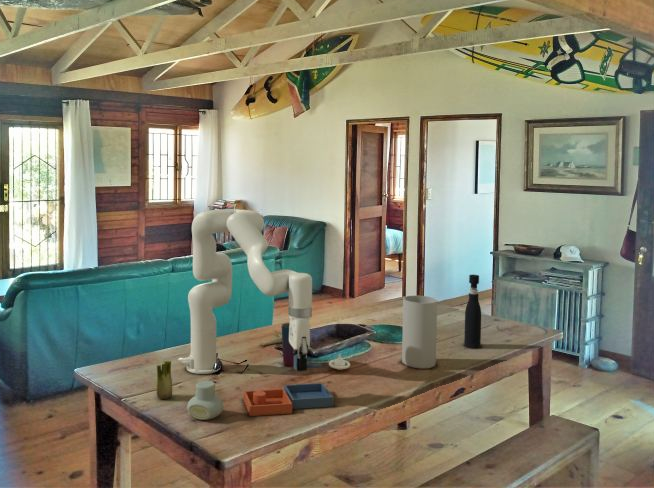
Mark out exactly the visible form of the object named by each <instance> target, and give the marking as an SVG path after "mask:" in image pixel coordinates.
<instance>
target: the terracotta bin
mask: <svg viewBox="0 0 654 488" xmlns="http://www.w3.org/2000/svg"><path fill="white" fill-rule="evenodd" d="M255 391H264V392H265V393H266V401H280V400H281V401H282V404H270V405H254V406H253V393H254V392H255ZM243 401H244V404H245V407H246V409H247V412H248V415H249V416H250V417H258V416H272V415H286V414H288V415H289V414H293V409H292V402H291V401H290V399H289V397H288V395H287V394H286V392H285V390H284V388H274V389H271V388H270V389H260V390H259V389H256V390H244V391H243Z"/></svg>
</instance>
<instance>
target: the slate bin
mask: <svg viewBox="0 0 654 488" xmlns="http://www.w3.org/2000/svg"><path fill="white" fill-rule="evenodd" d="M283 389H284V390H285V392H286V394H287V395H288V397H289V399H290V401H291V402H292V410H300V409H312V408H314V409H315V408H329V407H334V396H333V395H332V393H331V392H330V391H329V389H328V388H327V387H326V385H325V384H324V383H323V382H315V383H297V384H284V385H283Z"/></svg>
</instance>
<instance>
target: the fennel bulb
mask: <svg viewBox="0 0 654 488" xmlns="http://www.w3.org/2000/svg"><path fill="white" fill-rule="evenodd" d="M171 371H172V360H163V362H162V363H160V364H158V363H157V365H156V390H155V391H156V397H157V399H158V400H168V399H170V398H172V396H173V379H172V372H171Z"/></svg>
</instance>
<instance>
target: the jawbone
mask: <svg viewBox="0 0 654 488" xmlns="http://www.w3.org/2000/svg"><path fill="white" fill-rule="evenodd" d="M272 331H273V332H274V333H275V334H276V335H277V336H278V337H276V338H273V339H270V340H269V341H267V342H264V343H259V346H260V347H265V346H270V345H275V344H280V343H282V340H281V337H282V332H280V330H279V331H277V330H276V329H273V330H272Z"/></svg>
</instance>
